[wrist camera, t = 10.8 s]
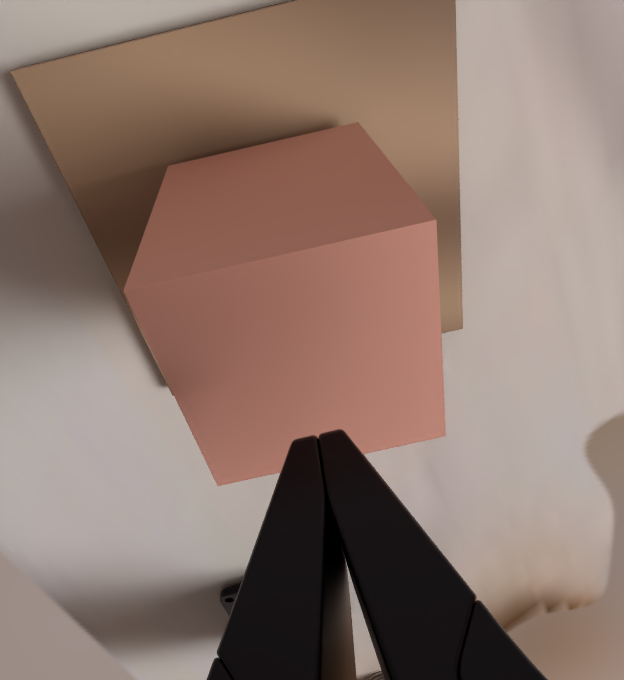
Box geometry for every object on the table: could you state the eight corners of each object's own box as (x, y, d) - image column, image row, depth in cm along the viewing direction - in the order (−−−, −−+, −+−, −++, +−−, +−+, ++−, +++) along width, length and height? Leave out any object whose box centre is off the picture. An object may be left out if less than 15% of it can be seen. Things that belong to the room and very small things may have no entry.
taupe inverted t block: (457, 320, 19) (550, 467, 13) (173, 386, 19) (147, 558, 14) (447, -38, 12) (619, -46, 7) (17, 68, 13) (-157, 145, 7)
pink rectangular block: (379, 287, 17) (445, 435, 11) (224, 322, 17) (217, 486, 11) (358, 122, 13) (436, 219, 8) (167, 165, 14) (123, 290, 8)
